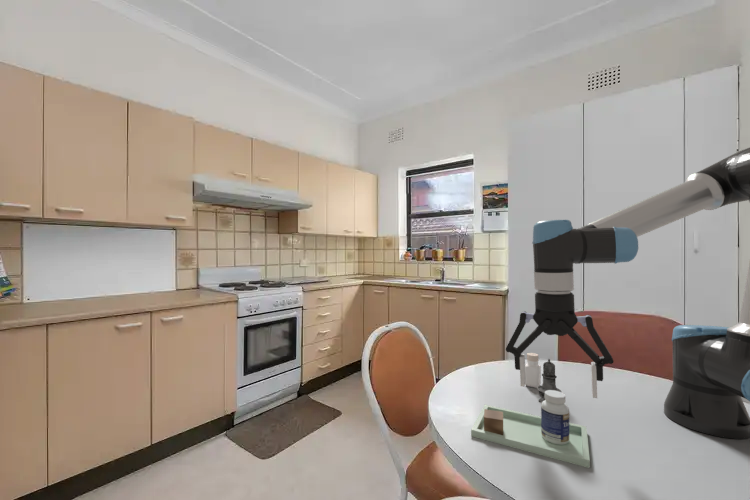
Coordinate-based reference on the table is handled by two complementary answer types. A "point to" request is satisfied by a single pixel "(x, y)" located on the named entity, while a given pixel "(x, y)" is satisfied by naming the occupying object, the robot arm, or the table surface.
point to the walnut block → (493, 421)
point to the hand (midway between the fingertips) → (557, 389)
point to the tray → (535, 437)
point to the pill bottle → (555, 418)
